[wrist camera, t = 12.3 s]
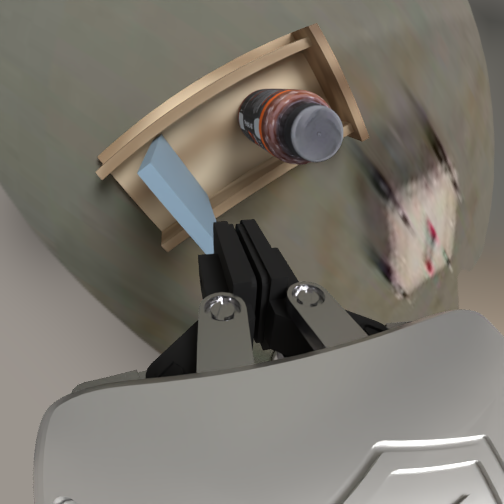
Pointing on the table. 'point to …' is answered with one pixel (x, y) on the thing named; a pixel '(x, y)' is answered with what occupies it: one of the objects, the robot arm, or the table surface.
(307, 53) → the lane tray
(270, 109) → the supplement bottle
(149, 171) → the pusher plate
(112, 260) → the table surface
